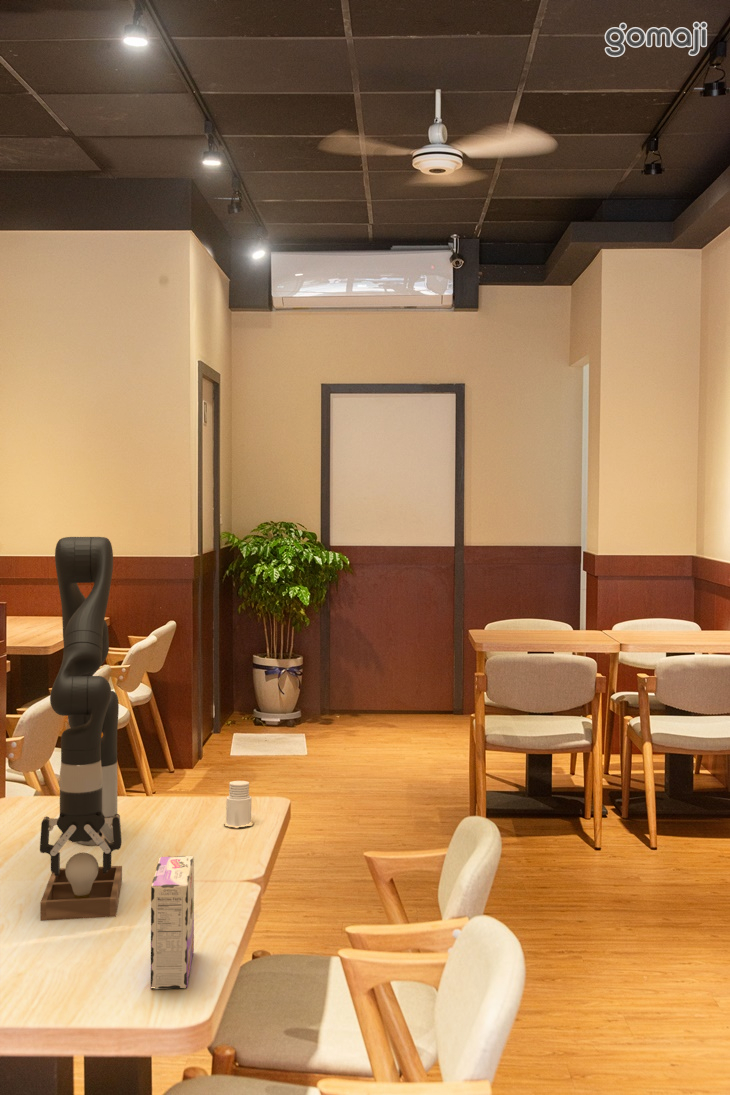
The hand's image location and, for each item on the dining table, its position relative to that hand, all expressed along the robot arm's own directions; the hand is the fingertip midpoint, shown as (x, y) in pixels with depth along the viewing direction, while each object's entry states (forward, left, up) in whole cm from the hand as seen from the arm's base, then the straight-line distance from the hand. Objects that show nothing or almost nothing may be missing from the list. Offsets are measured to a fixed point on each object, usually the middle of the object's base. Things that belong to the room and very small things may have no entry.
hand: (81, 873), depth 194 cm
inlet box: (-4, 0, -7) cm, 8 cm away
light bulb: (0, 0, -7) cm, 7 cm away
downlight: (-51, +31, -7) cm, 60 cm away
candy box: (+28, +17, -7) cm, 33 cm away
